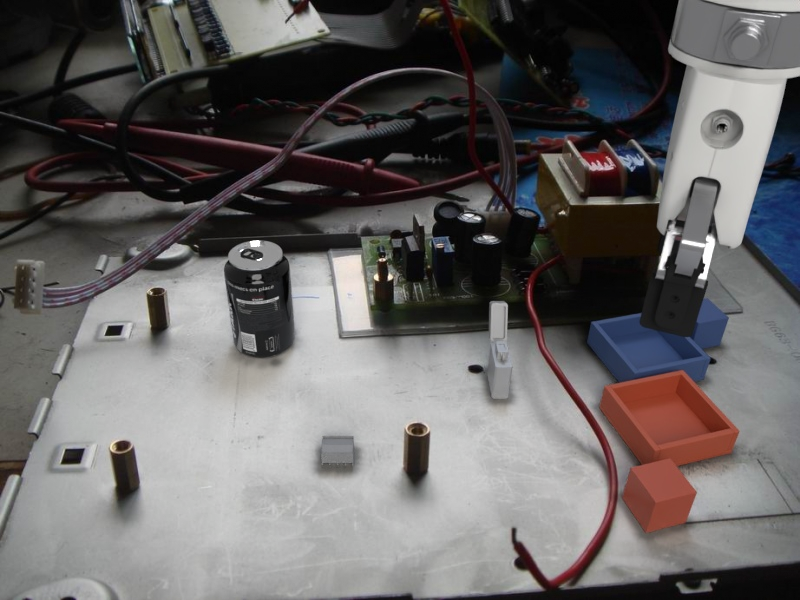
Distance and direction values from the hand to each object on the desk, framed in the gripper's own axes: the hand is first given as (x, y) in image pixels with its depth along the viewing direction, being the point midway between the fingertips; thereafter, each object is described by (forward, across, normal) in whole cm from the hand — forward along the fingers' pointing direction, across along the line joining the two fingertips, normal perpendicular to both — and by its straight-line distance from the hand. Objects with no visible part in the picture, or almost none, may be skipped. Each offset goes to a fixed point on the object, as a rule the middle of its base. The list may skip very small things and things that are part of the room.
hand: (672, 289), depth 51 cm
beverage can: (+25, +10, +40) cm, 48 cm away
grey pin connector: (+25, -2, +25) cm, 35 cm away
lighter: (+25, +15, +14) cm, 33 cm away
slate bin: (+25, +24, 0) cm, 35 cm away
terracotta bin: (+25, +14, -3) cm, 29 cm away
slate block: (+25, +31, -5) cm, 40 cm away
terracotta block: (+25, +3, -4) cm, 25 cm away
